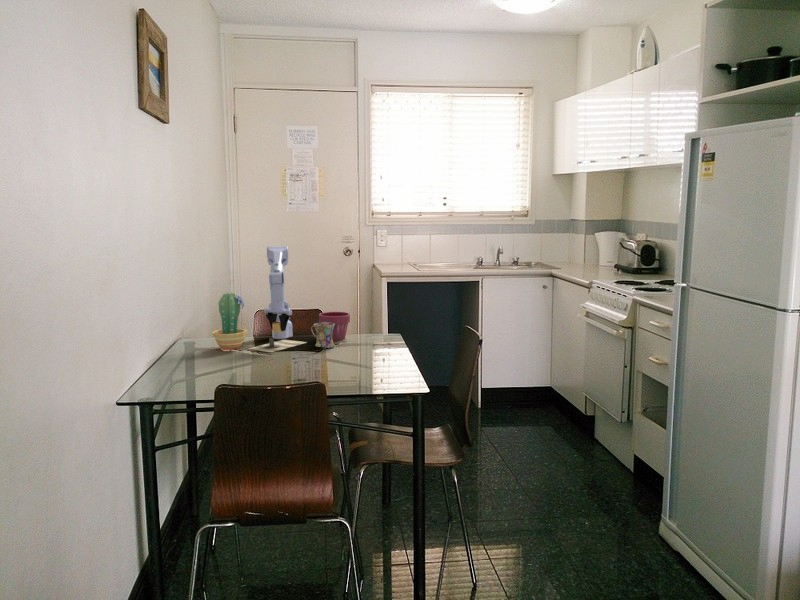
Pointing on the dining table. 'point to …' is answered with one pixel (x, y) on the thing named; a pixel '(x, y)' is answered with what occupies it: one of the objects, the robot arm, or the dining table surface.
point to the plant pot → (336, 323)
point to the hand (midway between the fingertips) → (278, 330)
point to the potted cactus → (230, 322)
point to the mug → (324, 334)
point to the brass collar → (277, 327)
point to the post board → (276, 345)
